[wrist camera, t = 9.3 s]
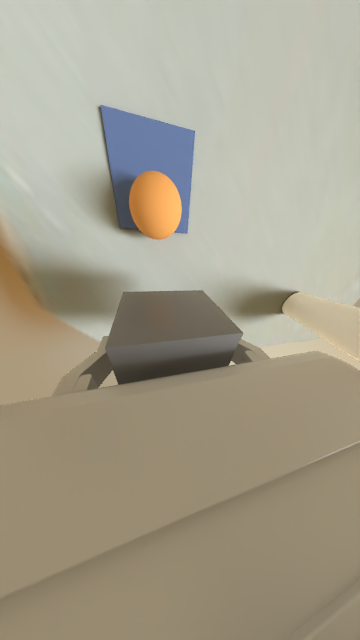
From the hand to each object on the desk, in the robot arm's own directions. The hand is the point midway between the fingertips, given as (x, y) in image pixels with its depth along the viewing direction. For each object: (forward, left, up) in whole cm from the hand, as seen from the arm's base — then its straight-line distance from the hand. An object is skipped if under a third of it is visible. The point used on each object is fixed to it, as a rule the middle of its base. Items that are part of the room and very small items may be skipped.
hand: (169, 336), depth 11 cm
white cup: (+3, +29, -11) cm, 31 cm away
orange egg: (-10, 0, -8) cm, 13 cm away
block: (0, 0, -3) cm, 3 cm away
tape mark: (-12, 0, -11) cm, 16 cm away
